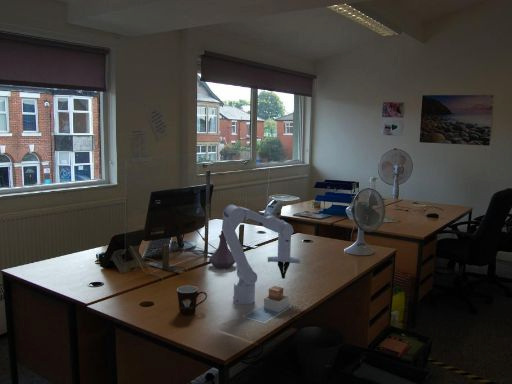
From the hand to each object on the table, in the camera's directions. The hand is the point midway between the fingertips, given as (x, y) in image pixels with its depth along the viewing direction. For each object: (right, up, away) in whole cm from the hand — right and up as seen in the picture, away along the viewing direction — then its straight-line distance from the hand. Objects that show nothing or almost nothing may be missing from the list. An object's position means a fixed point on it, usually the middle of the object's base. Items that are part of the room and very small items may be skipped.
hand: (283, 277), depth 209 cm
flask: (-31, -3, +46) cm, 55 cm away
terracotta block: (-4, -7, -13) cm, 15 cm away
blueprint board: (-7, -12, -16) cm, 21 cm away
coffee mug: (-40, -12, -17) cm, 45 cm away
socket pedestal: (-4, -10, -12) cm, 16 cm away
